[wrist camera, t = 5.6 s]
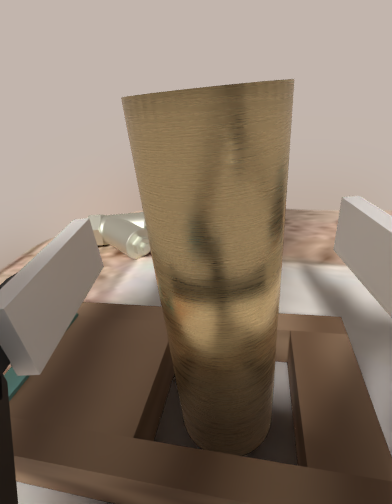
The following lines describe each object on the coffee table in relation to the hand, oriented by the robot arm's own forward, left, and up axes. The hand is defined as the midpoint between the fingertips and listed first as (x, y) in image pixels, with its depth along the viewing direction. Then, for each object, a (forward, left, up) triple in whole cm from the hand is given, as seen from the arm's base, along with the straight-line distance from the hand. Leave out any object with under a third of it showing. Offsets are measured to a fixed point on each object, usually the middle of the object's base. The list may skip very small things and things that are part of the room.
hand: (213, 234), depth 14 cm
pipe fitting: (+12, -13, -9) cm, 20 cm away
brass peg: (-1, +4, -8) cm, 9 cm away
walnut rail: (+6, +4, -8) cm, 11 cm away
